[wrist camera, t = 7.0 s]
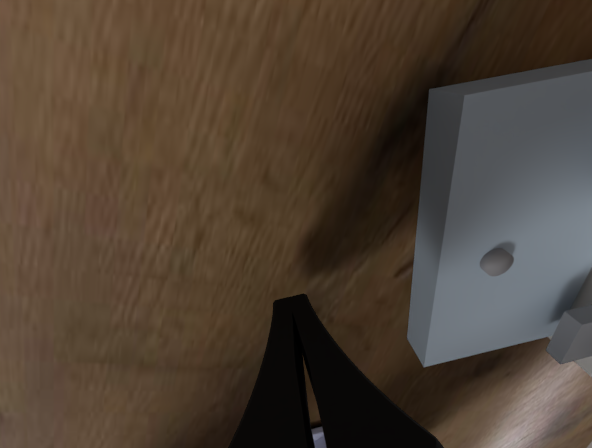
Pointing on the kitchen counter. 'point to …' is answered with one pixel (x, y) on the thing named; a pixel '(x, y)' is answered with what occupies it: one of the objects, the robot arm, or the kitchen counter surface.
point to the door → (502, 211)
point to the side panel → (575, 331)
